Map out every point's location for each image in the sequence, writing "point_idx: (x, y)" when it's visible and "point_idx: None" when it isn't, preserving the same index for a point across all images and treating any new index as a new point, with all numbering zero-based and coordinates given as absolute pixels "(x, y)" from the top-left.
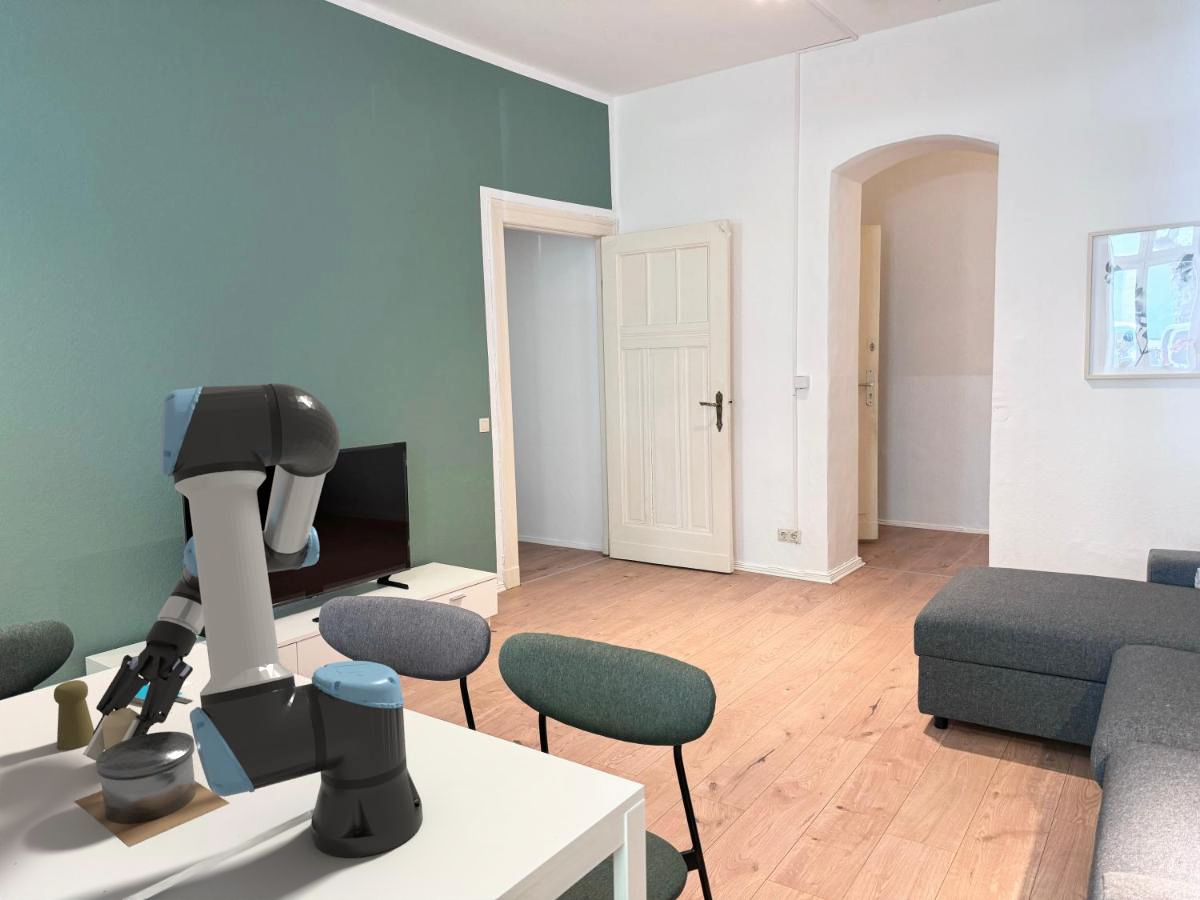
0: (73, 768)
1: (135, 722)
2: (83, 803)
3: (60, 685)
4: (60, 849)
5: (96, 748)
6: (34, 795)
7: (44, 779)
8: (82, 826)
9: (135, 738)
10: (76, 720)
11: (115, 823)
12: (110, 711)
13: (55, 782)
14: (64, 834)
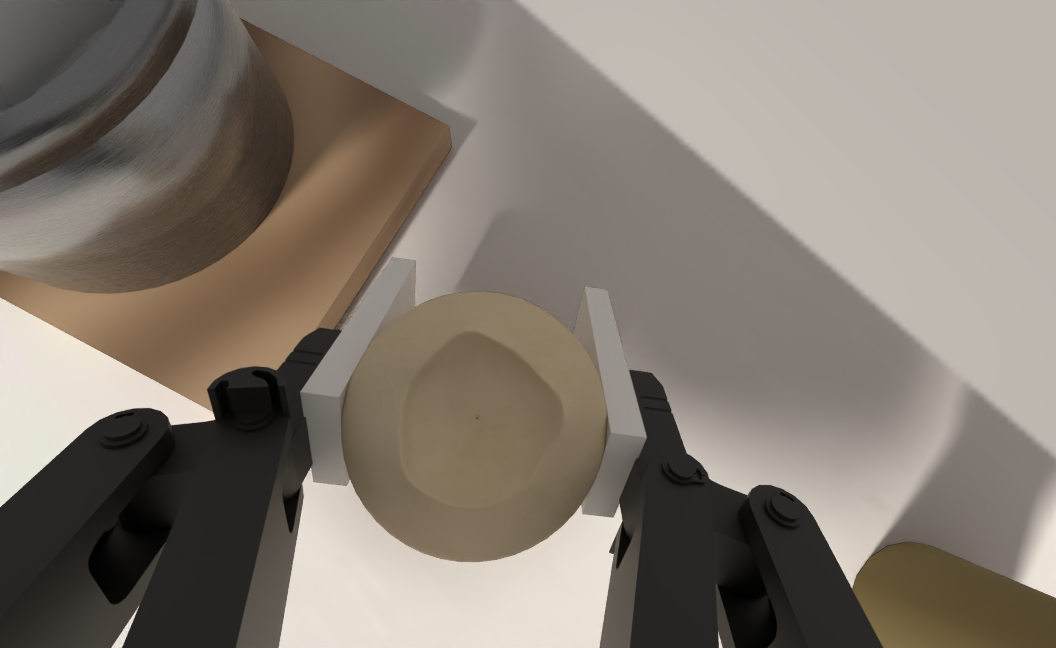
0: (718, 406)
1: (310, 377)
2: (400, 115)
3: None
4: None
5: (581, 341)
6: (677, 215)
7: (747, 315)
8: (351, 73)
9: (55, 71)
10: (1005, 644)
11: None
12: (643, 487)
13: (687, 301)
14: (375, 34)
